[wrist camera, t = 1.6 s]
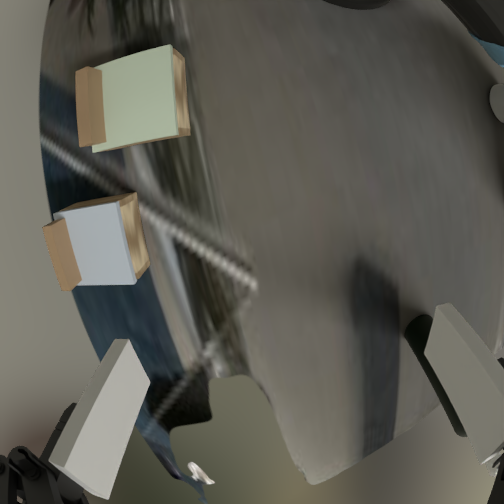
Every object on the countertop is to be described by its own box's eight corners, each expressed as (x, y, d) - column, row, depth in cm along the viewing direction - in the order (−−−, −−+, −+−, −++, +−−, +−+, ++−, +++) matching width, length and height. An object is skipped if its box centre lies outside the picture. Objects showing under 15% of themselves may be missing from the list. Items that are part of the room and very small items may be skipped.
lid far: (56, 212, 29) (38, 221, 26) (118, 200, 29) (102, 209, 25) (76, 282, 33) (61, 296, 30) (136, 281, 33) (124, 297, 29)
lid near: (91, 71, 23) (72, 66, 19) (172, 46, 22) (160, 35, 19) (96, 152, 27) (77, 155, 23) (178, 134, 26) (167, 134, 23)
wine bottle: (409, 316, 40) (495, 472, 12) (436, 312, 39) (527, 450, 12) (401, 343, 42) (469, 493, 14) (427, 339, 41) (501, 473, 14)
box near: (111, 77, 27) (93, 71, 23) (184, 58, 27) (174, 48, 23) (116, 149, 31) (99, 151, 27) (190, 135, 31) (180, 134, 27)
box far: (77, 202, 34) (59, 210, 30) (136, 192, 33) (121, 199, 29) (93, 267, 38) (78, 280, 34) (150, 263, 37) (138, 278, 33)
